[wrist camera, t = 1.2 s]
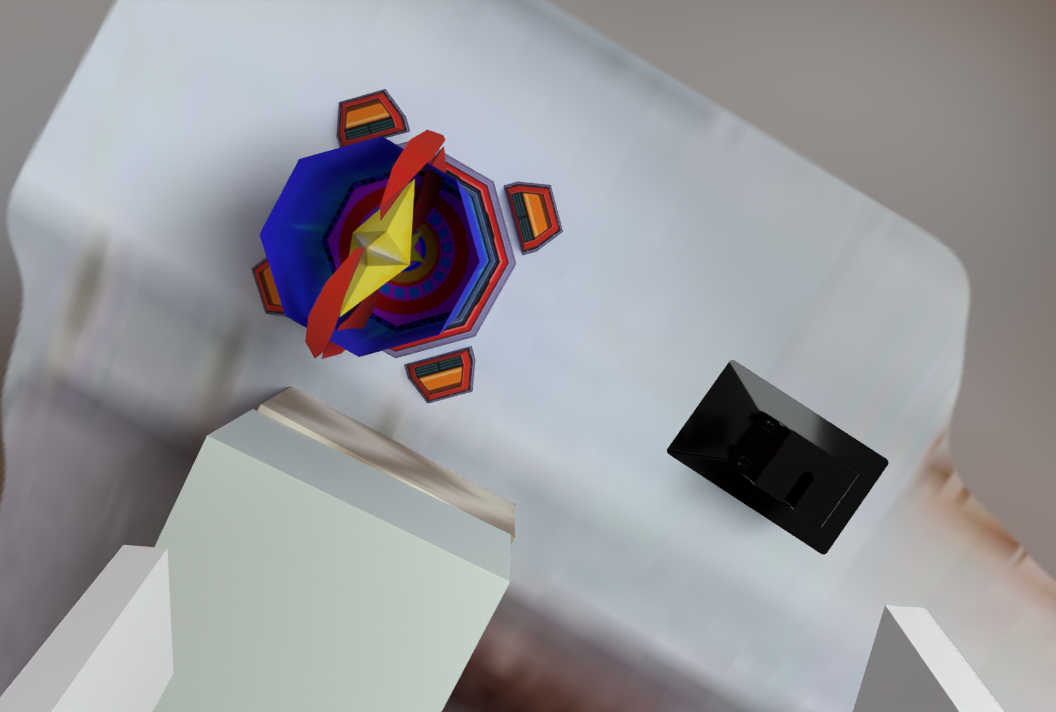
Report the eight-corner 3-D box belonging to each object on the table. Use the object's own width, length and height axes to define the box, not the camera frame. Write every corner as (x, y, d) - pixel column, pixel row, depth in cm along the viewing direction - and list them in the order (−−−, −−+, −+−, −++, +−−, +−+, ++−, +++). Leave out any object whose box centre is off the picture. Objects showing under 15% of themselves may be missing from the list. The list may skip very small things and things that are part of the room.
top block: (511, 534, 34) (510, 581, 29) (358, 826, 36) (332, 917, 31) (252, 408, 34) (207, 435, 29) (107, 712, 35) (40, 787, 30)
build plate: (627, 445, 39) (642, 469, 35) (713, 319, 39) (739, 328, 34) (834, 578, 40) (874, 619, 36) (921, 458, 40) (974, 484, 35)
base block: (515, 502, 39) (514, 537, 34) (372, 755, 41) (352, 824, 36) (293, 385, 39) (260, 404, 34) (156, 647, 40) (105, 703, 35)
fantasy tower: (354, 69, 37) (276, -20, 25) (581, 201, 37) (611, 176, 25) (235, 297, 38) (104, 317, 26) (456, 420, 39) (430, 494, 27)
